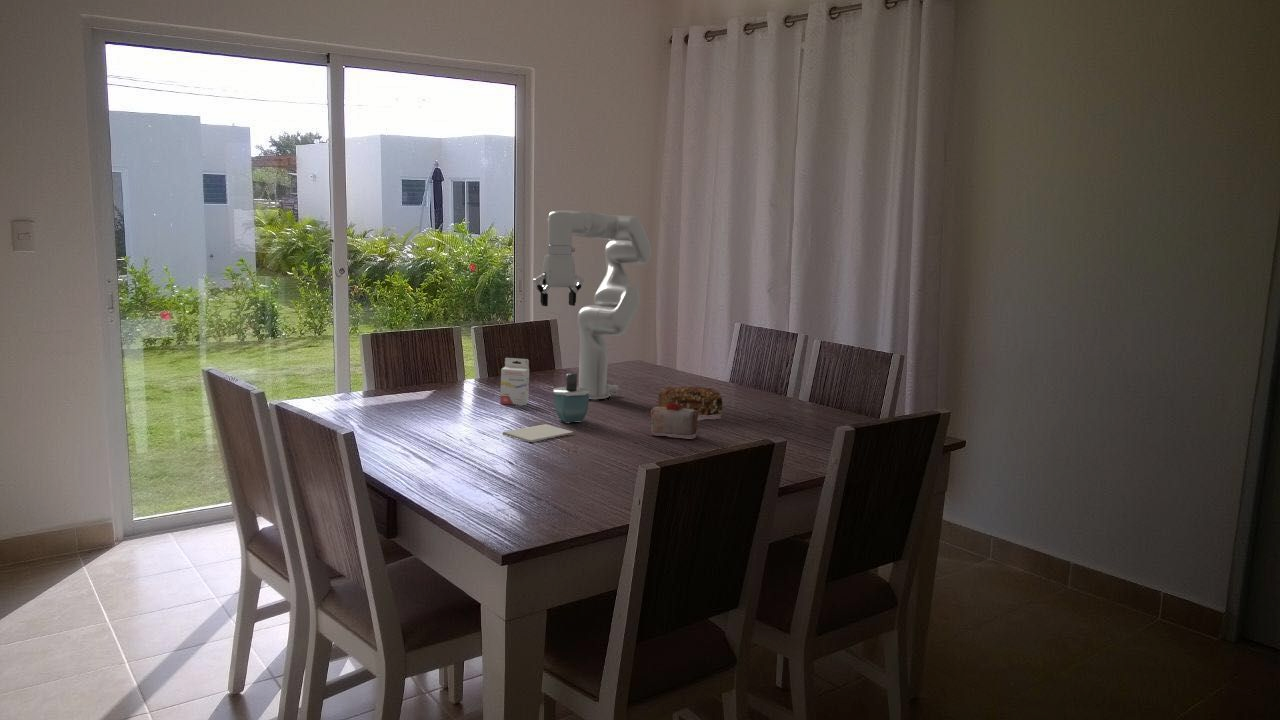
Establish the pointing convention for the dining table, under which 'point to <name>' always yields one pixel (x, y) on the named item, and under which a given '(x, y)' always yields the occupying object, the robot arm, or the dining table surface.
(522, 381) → the ink cartridge box
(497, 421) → the dining table surface
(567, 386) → the lid
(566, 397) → the flower pot
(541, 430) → the linen napkin
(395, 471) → the dining table surface
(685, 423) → the food item
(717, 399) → the bread
